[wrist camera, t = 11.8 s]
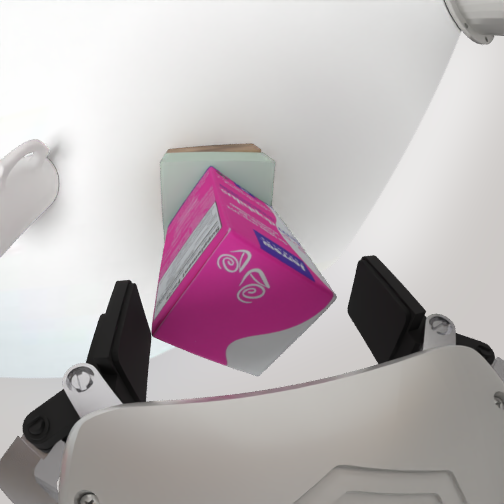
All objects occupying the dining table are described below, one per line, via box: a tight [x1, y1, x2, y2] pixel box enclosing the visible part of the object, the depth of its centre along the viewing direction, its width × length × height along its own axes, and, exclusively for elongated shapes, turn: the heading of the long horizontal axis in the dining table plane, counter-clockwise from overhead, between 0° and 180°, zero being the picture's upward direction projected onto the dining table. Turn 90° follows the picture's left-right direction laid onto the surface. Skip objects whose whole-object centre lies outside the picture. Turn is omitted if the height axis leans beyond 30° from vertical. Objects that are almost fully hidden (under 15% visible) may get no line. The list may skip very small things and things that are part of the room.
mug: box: [0, 139, 59, 257], centre depth 18 cm, size 10×7×12 cm, turn 133°
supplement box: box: [152, 166, 337, 376], centre depth 16 cm, size 6×6×12 cm
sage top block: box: [160, 152, 275, 241], centre depth 23 cm, size 8×8×4 cm
